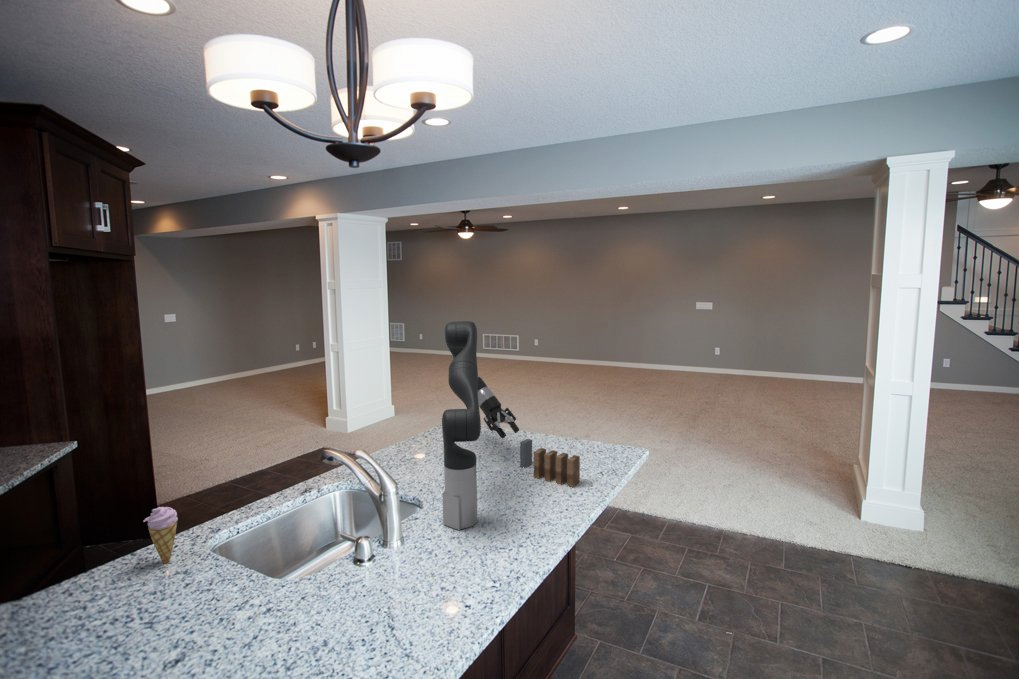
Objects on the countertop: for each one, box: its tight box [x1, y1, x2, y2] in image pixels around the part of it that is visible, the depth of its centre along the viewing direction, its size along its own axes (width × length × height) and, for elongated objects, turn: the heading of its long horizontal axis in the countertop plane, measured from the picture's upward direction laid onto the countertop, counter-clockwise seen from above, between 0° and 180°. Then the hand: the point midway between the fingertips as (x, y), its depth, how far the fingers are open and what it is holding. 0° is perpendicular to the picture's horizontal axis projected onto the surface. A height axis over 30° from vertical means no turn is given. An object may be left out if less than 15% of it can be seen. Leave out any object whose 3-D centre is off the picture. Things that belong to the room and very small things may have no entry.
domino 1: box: [519, 438, 533, 469], centre depth 192 cm, size 5×2×10 cm, turn 144°
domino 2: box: [533, 447, 547, 480], centre depth 181 cm, size 5×2×10 cm, turn 144°
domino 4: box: [555, 452, 569, 485], centre depth 176 cm, size 5×2×10 cm, turn 144°
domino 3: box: [544, 449, 558, 483], centre depth 179 cm, size 5×2×10 cm, turn 144°
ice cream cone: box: [143, 506, 179, 564], centre depth 128 cm, size 7×6×15 cm
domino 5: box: [566, 454, 581, 489], centre depth 173 cm, size 5×2×10 cm, turn 144°
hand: (511, 434), depth 195 cm, fingers open, 8 cm apart
